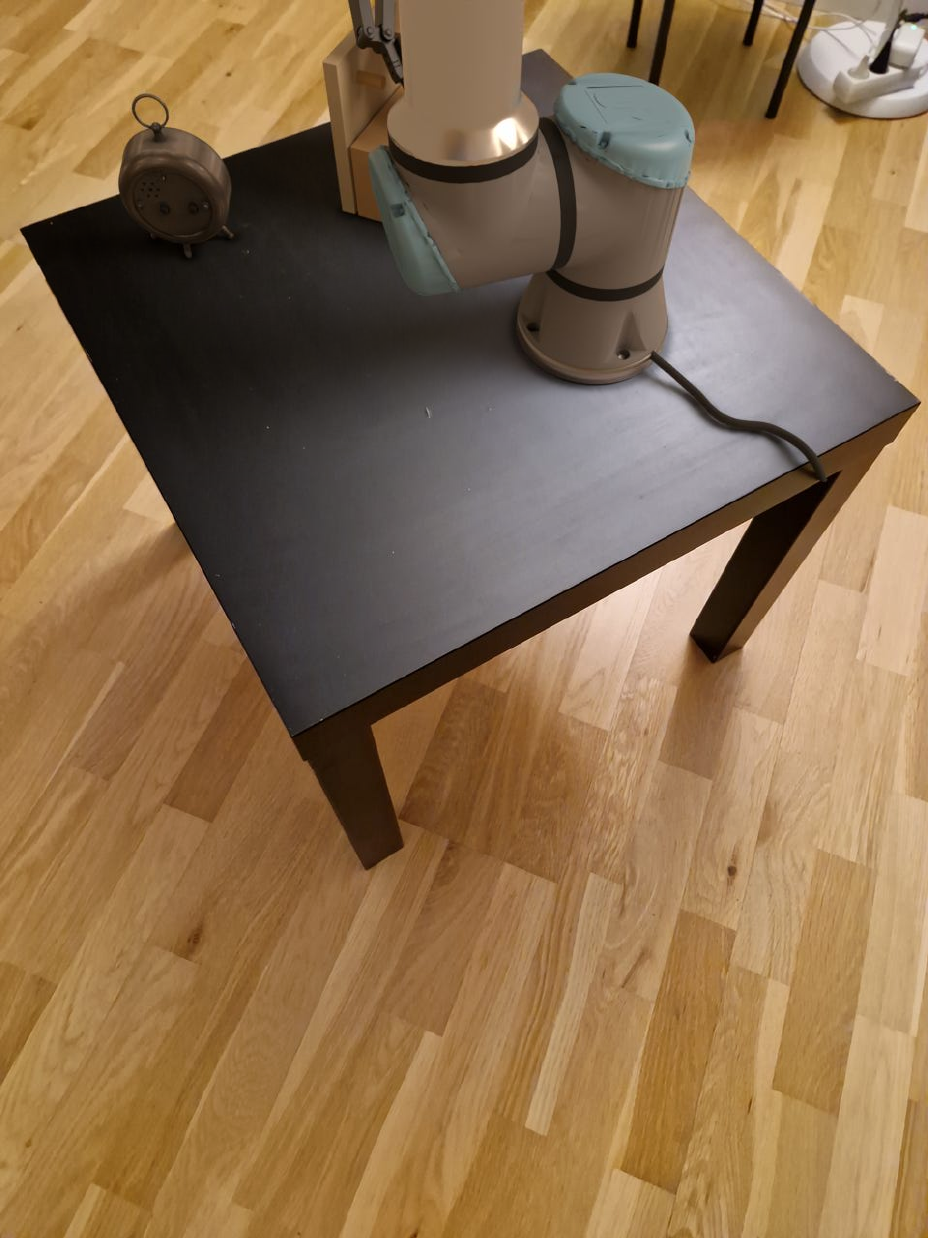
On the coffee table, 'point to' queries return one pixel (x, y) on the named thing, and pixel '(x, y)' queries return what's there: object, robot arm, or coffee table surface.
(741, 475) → the coffee table surface
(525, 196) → the robot arm
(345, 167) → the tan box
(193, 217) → the alarm clock
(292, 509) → the coffee table surface
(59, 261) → the coffee table surface
